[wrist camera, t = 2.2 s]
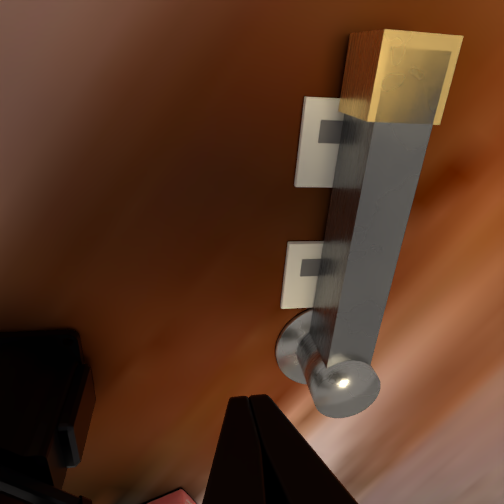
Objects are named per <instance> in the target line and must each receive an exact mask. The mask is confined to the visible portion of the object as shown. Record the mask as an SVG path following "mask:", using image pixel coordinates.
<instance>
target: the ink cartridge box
mask: <svg viewBox="0 0 504 504" xmlns="http://www.w3.org/2000/svg"><path fill="white" fill-rule="evenodd" d="M147 504H196V503H195V502H194V501H193V500H192V499H191V497H190V496H189V495H188V494H187V493H186V492H185V491H183V490H182V489H180V490H178V491H175V492H173V493H171V494H168V495H166V496H164V497H161V498H159V499H156V500H154V501H151V502H149V503H147Z"/></svg>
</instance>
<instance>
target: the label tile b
mask: <svg viewBox="0 0 504 504" xmlns="http://www.w3.org/2000/svg"><path fill="white" fill-rule="evenodd" d="M339 103H340V98H325V97H307V96H304V103H303V112H302V121H301V130H300V138H299V147H298V156H297V164H296V173H295V182H294V186H295V187H330V188H332V187H333V181H334V175H335V168H336V162H337V156H338V150H339V144H340V137H341V131H342V125H343V119H344V113H342V112H339V111H338V109H339Z"/></svg>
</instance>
